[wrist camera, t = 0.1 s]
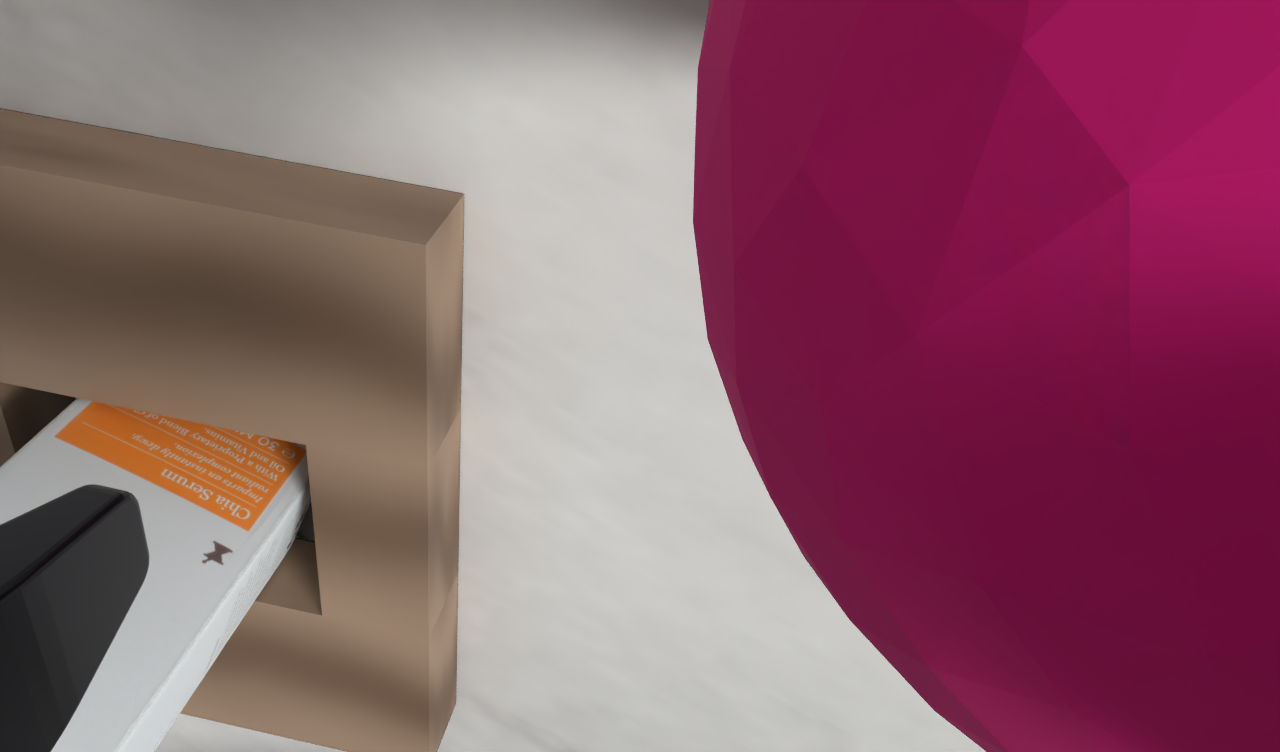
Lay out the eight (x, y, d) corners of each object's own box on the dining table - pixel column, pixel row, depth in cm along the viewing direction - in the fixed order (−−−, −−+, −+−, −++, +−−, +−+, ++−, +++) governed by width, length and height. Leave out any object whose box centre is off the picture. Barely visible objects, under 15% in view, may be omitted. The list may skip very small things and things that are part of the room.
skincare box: (338, 443, 28) (56, 860, 18) (297, 538, 30) (29, 952, 20) (125, 338, 27) (-290, 714, 17) (101, 444, 29) (-274, 827, 20)
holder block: (456, 703, 33) (429, 770, 31) (49, 612, 34) (-2, 671, 32) (464, 194, 23) (425, 245, 21) (-118, 86, 24) (-209, 124, 22)
